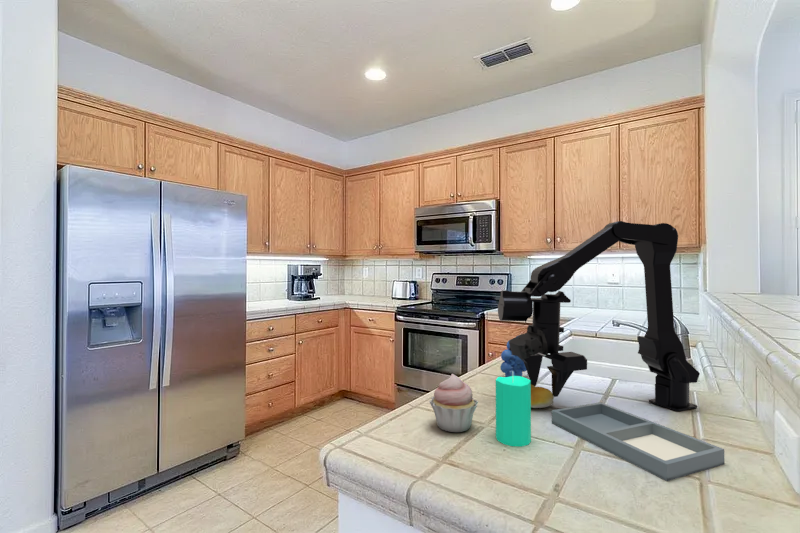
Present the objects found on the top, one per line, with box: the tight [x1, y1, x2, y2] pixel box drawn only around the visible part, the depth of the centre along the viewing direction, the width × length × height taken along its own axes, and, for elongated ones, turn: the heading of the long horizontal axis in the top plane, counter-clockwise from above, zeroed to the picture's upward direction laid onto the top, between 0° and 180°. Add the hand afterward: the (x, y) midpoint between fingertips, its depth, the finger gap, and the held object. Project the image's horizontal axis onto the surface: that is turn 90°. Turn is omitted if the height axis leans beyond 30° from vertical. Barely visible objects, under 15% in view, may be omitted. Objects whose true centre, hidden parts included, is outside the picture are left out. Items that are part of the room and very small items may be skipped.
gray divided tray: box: [551, 401, 725, 482], centre depth 67 cm, size 13×22×2 cm, turn 21°
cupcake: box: [428, 373, 479, 433], centre depth 74 cm, size 9×9×10 cm
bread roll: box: [531, 384, 555, 409], centre depth 86 cm, size 8×9×4 cm
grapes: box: [499, 334, 527, 377], centre depth 106 cm, size 12×7×12 cm, turn 123°
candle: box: [495, 371, 532, 448], centre depth 68 cm, size 6×6×12 cm
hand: (543, 391), depth 86 cm, fingers open, 7 cm apart
